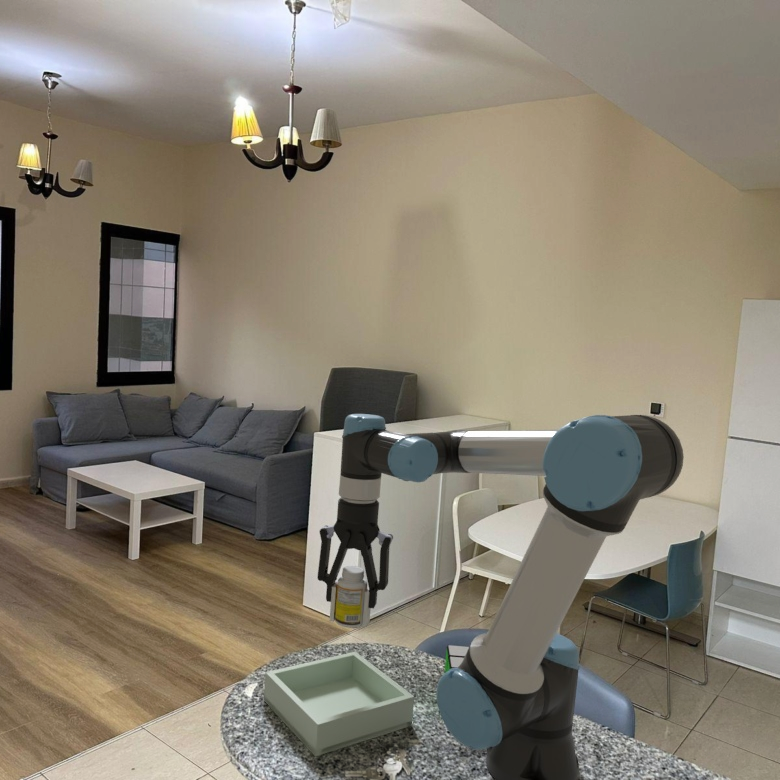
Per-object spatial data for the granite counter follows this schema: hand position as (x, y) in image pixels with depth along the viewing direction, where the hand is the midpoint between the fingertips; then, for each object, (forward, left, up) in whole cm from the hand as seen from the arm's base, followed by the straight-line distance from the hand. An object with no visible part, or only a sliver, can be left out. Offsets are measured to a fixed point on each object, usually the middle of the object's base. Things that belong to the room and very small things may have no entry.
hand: (349, 620), depth 132 cm
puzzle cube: (-11, -22, -17) cm, 30 cm away
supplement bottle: (0, 0, -1) cm, 1 cm away
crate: (-1, +2, -17) cm, 17 cm away
